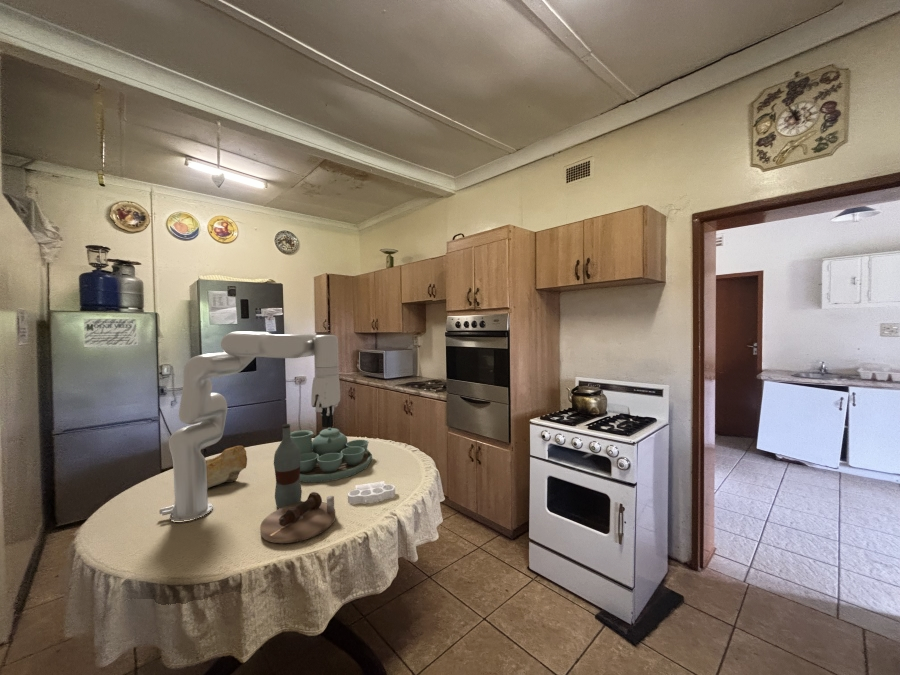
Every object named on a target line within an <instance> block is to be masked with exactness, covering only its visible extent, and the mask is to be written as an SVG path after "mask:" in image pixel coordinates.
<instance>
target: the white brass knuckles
mask: <svg viewBox="0 0 900 675" xmlns="http://www.w3.org/2000/svg"><path fill="white" fill-rule="evenodd" d="M395 496H396V486H395V485H394V484H387V483H386V482H385V480H382V481H377V482H368V483H364V484H355V489H352V490H350V491H349V492H348V493H347V503H348V504H350V505H358V504H357V503H363V504H362V505H367V504H366V503H370V504H372V502H373V503H380V502H379V501H381V502H383V501H385V500H387V499H388V498H389V499H393V498H394V497H395ZM384 499H385V500H384Z"/></svg>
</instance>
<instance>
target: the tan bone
mask: <svg viewBox="0 0 900 675" xmlns="http://www.w3.org/2000/svg"><path fill="white" fill-rule="evenodd" d="M205 460H206V468H207V490H208V489H210V488H212V487H214V486H218V485H221V484H224V483H225V482H226V483H233V481H234V482H236V480H237V481H238V478H239V475H240V473H241V472H242V471H243V470H244V469H247V465H248V456H247V450H246V449H245V447H244V446H243V445H236V446H233V447H229V448H225V449H224V450H223V451H222V452H221V453H220V454H219V455H217V456H216V457H213V458H209V459H205Z"/></svg>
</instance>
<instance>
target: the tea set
mask: <svg viewBox="0 0 900 675" xmlns="http://www.w3.org/2000/svg"><path fill="white" fill-rule="evenodd" d="M314 434H315V433H314V432H313V431H312V430H307V429H305V430H295V431H293V432H292V431H291V432H290V436H291V440H292V441H293V442H294V443H295V445H296V446H297V447H298V448H299V451H300V457H301V462H300V482H305V483H319V482H322V483H323V482H331V481H337V480H340V479H344V478H348V477H352V476H354V475H356V474H358V473H359V472H361V471H363V469H364V470H365V468H366V469H367V468H368V466H369V465H370V463H371V462H372V460H373V454H372V453H371V451H370V450H369V449H368V445H369V444H370V443H369V441H368V440H366V439H354V440H351V441H348V437H347V435H345V434H344V433H342V432H341V431H340V429H338V428H335V427H334V428H333V427H330V428H324V429H322V430H321V431H319V434H318V435H316V436H315V437H314V438H313V436H314Z"/></svg>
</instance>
